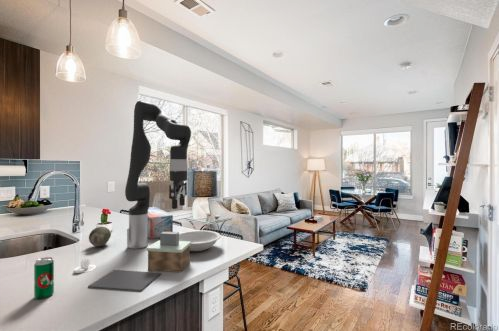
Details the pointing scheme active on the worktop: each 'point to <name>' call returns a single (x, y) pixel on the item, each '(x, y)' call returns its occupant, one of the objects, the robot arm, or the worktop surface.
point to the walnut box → (168, 260)
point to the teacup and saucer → (84, 266)
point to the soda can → (43, 278)
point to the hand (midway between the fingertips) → (178, 207)
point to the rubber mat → (125, 280)
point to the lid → (169, 243)
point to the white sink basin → (200, 239)
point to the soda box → (158, 222)
